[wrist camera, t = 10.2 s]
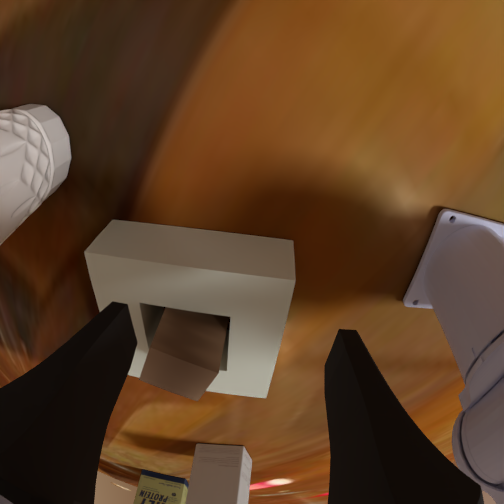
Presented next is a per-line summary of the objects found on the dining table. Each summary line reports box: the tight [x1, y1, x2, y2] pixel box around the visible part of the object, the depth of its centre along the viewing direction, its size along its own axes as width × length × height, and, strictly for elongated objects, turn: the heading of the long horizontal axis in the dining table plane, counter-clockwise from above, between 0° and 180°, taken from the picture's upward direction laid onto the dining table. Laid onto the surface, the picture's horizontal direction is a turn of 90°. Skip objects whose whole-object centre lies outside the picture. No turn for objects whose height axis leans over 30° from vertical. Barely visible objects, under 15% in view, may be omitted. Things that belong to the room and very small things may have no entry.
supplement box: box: [185, 443, 252, 504], centre depth 35 cm, size 7×7×13 cm
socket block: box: [84, 220, 296, 398], centre depth 21 cm, size 12×12×4 cm
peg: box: [139, 307, 229, 401], centre depth 20 cm, size 4×4×7 cm
